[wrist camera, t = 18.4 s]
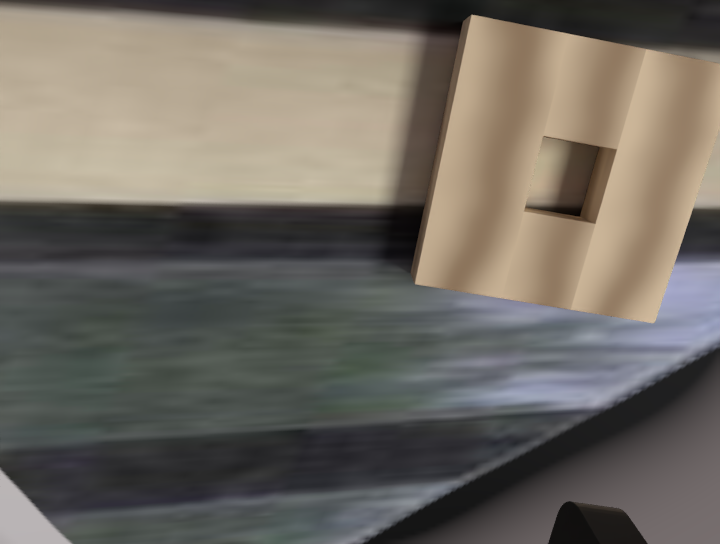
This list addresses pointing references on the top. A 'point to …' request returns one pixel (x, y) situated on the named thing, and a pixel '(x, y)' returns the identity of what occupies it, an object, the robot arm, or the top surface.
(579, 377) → the top surface
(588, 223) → the wooden board with hole
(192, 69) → the top surface
